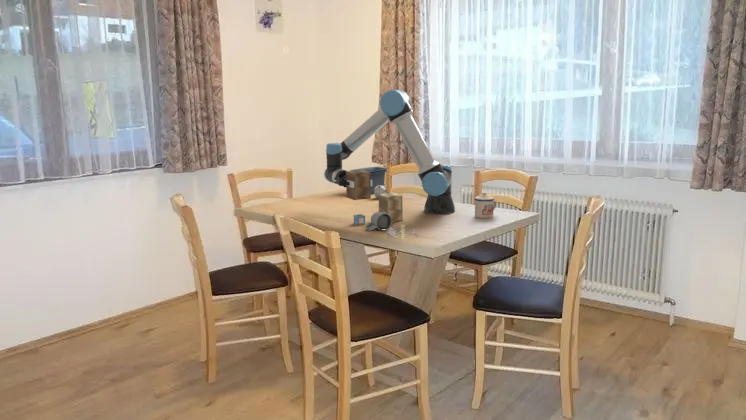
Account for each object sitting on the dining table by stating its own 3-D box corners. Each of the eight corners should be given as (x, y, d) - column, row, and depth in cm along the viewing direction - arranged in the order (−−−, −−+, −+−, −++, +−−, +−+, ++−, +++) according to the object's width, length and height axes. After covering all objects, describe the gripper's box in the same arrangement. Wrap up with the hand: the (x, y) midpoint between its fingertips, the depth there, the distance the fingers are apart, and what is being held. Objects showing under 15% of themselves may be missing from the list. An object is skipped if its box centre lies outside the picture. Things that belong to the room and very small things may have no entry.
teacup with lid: (483, 219, 282) (483, 194, 280) (470, 216, 289) (470, 192, 287) (502, 216, 288) (502, 192, 286) (489, 213, 296) (489, 189, 293)
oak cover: (394, 217, 289) (393, 192, 286) (402, 220, 282) (402, 195, 279) (378, 219, 285) (378, 194, 283) (386, 222, 278) (386, 196, 276)
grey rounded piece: (381, 205, 338) (379, 193, 331) (369, 199, 342) (368, 186, 335) (391, 196, 342) (390, 184, 335) (380, 189, 346) (378, 177, 339)
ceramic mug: (384, 226, 271) (384, 209, 269) (392, 229, 263) (392, 212, 262) (362, 229, 267) (362, 212, 265) (370, 233, 259) (369, 215, 258)
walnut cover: (362, 195, 280) (362, 169, 277) (370, 198, 272) (370, 172, 270) (346, 197, 276) (345, 171, 274) (353, 200, 269) (353, 173, 267)
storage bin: (363, 196, 346) (362, 171, 344) (345, 193, 358) (345, 169, 355) (390, 192, 360) (389, 168, 358) (372, 189, 372) (372, 166, 369)
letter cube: (361, 222, 279) (361, 213, 278) (365, 224, 275) (365, 215, 275) (353, 223, 277) (353, 214, 276) (357, 225, 274) (357, 216, 273)
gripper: (362, 183, 294) (383, 190, 274) (322, 187, 285) (341, 194, 265) (362, 168, 293) (383, 173, 273) (321, 171, 284) (340, 177, 264)
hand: (362, 184), depth 269 cm, fingers closed on walnut cover, 8 cm apart
